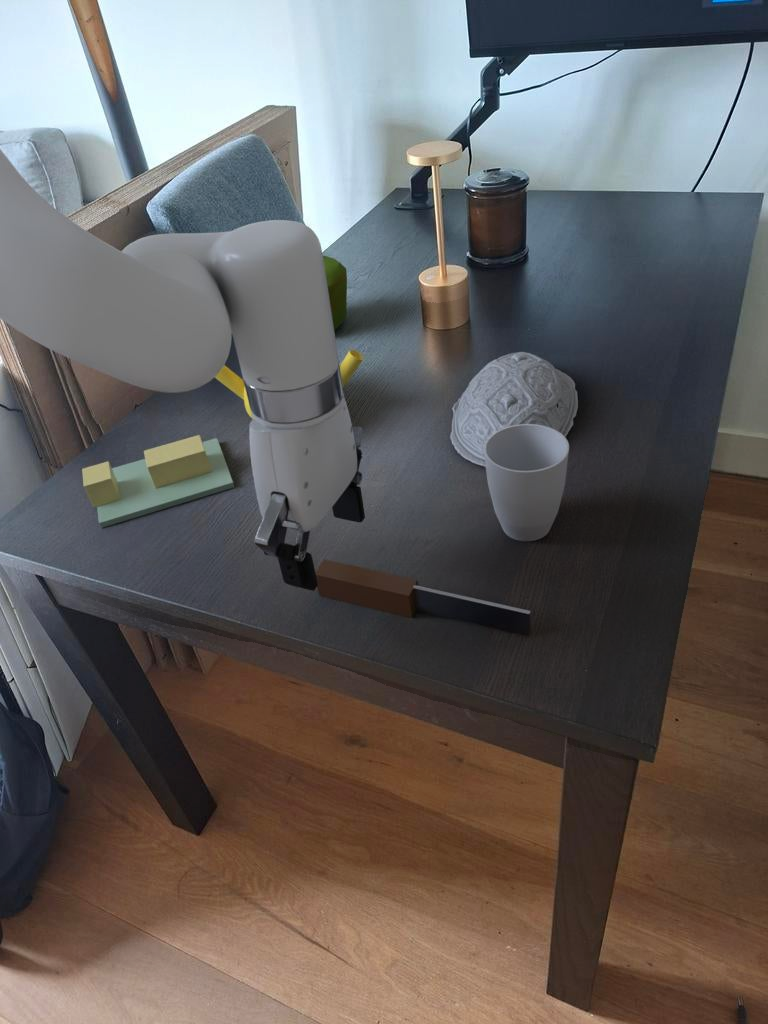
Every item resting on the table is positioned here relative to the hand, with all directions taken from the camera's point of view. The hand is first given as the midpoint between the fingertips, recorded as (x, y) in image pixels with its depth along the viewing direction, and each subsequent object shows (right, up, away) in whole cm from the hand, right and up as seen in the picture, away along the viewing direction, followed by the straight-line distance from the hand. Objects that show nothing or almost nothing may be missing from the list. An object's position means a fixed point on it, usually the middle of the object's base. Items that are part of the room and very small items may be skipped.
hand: (326, 550), depth 70 cm
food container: (+22, +16, +26) cm, 38 cm away
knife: (+8, -6, +2) cm, 10 cm away
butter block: (-20, +9, +23) cm, 32 cm away
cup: (+20, +2, +9) cm, 22 cm away
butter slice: (-28, +6, +22) cm, 36 cm away
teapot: (-6, +16, +32) cm, 36 cm away
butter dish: (-22, +7, +23) cm, 33 cm away
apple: (-5, +33, +53) cm, 62 cm away
